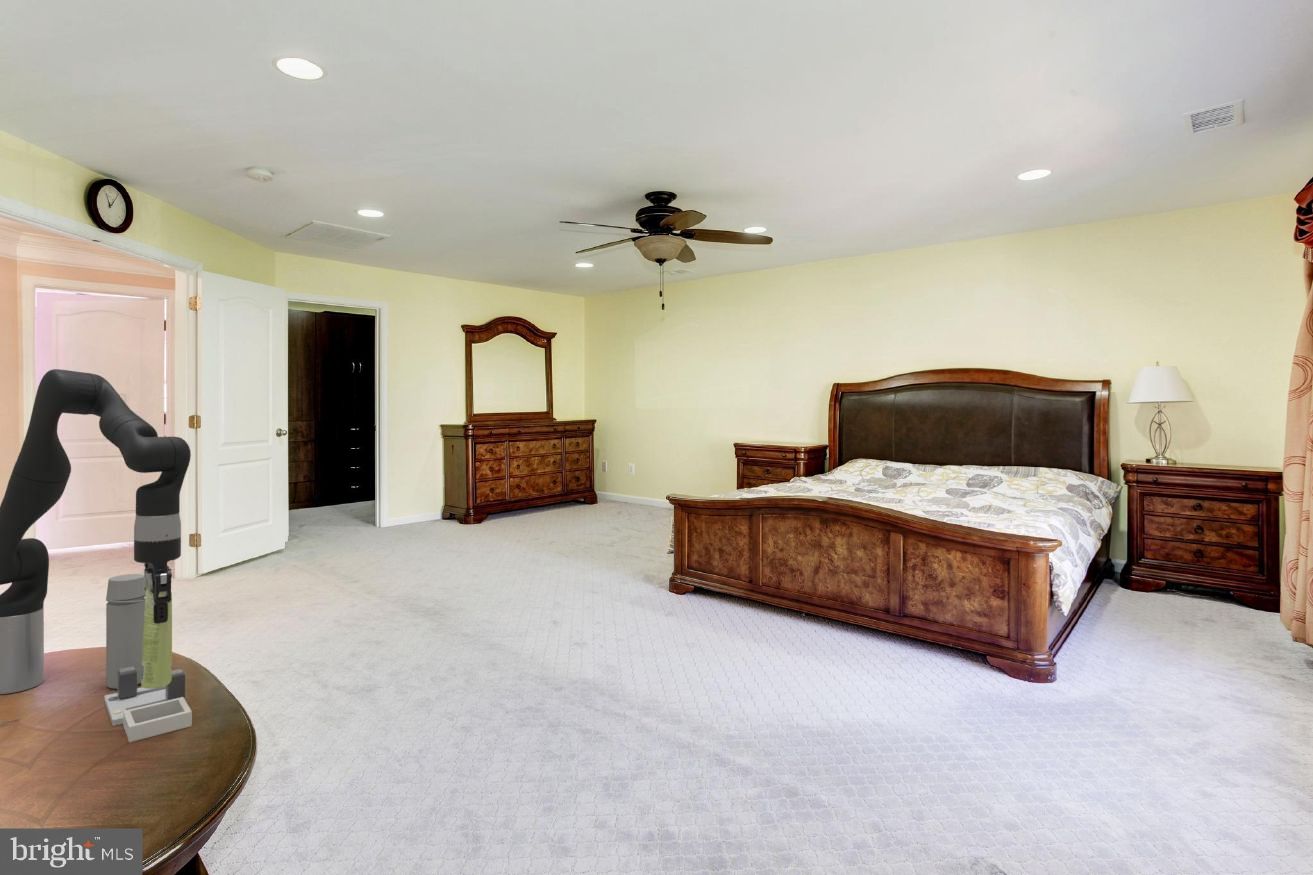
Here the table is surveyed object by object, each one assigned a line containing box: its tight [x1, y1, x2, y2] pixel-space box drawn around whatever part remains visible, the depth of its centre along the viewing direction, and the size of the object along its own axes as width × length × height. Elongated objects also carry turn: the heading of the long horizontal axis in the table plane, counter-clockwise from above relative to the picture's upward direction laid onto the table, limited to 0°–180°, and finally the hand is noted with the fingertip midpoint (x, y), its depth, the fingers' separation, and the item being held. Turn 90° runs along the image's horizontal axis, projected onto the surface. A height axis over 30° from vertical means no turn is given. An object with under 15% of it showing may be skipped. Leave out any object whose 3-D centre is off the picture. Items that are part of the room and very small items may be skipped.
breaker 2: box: [166, 668, 186, 701], centre depth 142 cm, size 3×3×6 cm
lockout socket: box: [122, 697, 193, 743], centre depth 133 cm, size 9×10×3 cm
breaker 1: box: [116, 666, 138, 699], centre depth 143 cm, size 3×3×6 cm
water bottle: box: [105, 573, 146, 690], centre depth 151 cm, size 9×8×25 cm
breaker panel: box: [104, 686, 167, 727], centre depth 142 cm, size 15×12×2 cm
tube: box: [140, 589, 173, 689], centre depth 132 cm, size 6×5×20 cm
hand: (157, 617), depth 132 cm, fingers closed on tube, 6 cm apart
